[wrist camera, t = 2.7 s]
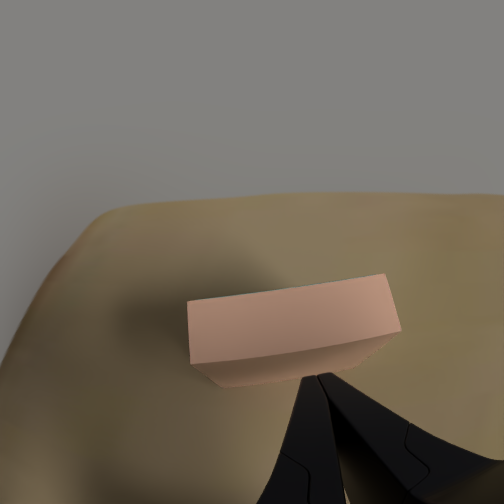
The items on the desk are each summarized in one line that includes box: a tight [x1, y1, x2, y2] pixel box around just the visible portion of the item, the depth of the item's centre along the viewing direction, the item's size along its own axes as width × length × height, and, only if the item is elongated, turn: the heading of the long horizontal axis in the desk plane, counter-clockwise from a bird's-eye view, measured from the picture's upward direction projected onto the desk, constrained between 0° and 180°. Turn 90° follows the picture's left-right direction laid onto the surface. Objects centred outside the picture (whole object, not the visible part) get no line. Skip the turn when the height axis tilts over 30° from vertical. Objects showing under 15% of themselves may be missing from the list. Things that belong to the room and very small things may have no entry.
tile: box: [187, 273, 402, 388], centre depth 15 cm, size 3×8×8 cm, turn 97°
